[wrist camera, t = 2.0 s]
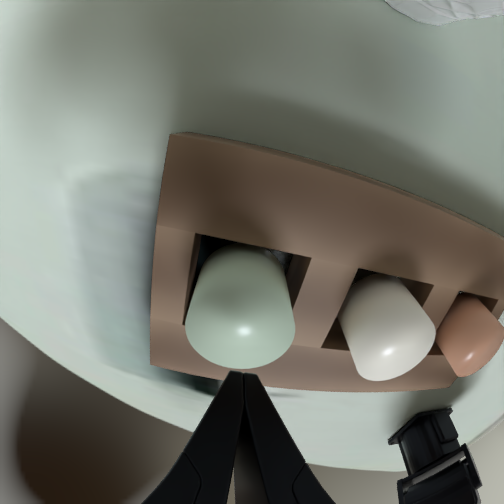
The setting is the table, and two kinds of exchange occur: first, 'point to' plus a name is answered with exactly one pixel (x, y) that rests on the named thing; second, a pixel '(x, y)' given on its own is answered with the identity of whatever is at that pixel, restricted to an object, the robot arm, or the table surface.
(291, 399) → the table surface
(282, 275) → the button sage
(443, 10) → the white cup
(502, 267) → the panel
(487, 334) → the button terracotta
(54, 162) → the table surface
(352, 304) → the button cream
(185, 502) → the robot arm
